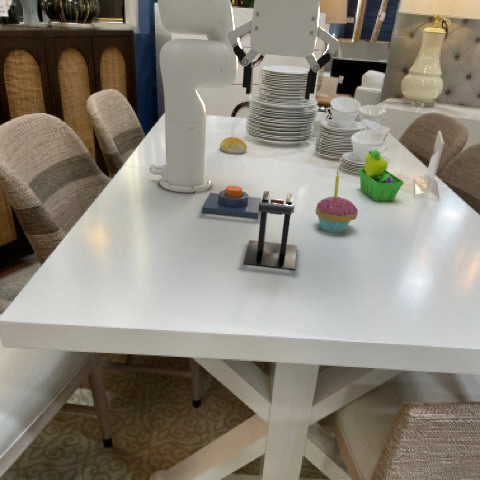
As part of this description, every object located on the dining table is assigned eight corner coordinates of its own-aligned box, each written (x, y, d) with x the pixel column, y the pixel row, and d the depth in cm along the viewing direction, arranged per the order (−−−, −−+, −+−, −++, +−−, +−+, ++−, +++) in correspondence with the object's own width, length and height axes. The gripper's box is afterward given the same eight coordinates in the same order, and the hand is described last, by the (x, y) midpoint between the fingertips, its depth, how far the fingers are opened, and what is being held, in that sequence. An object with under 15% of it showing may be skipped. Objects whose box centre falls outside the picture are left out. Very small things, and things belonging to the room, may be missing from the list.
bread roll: (241, 147, 155) (241, 134, 153) (249, 154, 148) (250, 140, 146) (216, 147, 153) (217, 134, 151) (223, 154, 146) (224, 140, 144)
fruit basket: (400, 202, 118) (412, 156, 112) (368, 202, 116) (378, 156, 110) (380, 187, 127) (390, 144, 121) (349, 188, 126) (358, 144, 119)
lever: (290, 218, 70) (293, 202, 70) (257, 215, 71) (259, 198, 70) (290, 215, 82) (292, 201, 81) (261, 212, 82) (263, 197, 82)
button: (224, 197, 102) (224, 189, 101) (226, 192, 105) (227, 184, 104) (240, 199, 101) (241, 191, 100) (242, 194, 104) (243, 186, 103)
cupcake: (305, 225, 101) (313, 169, 94) (338, 221, 104) (348, 167, 98) (326, 241, 95) (337, 182, 88) (361, 237, 98) (374, 179, 91)
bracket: (294, 275, 82) (304, 209, 75) (243, 269, 82) (248, 203, 76) (295, 251, 90) (304, 190, 83) (249, 245, 90) (254, 184, 84)
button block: (201, 216, 101) (202, 198, 99) (209, 201, 110) (210, 184, 107) (257, 223, 100) (258, 204, 98) (261, 207, 109) (262, 190, 107)
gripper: (349, -28, 71) (329, 97, 80) (235, -36, 72) (228, 88, 81) (353, -32, 64) (331, 104, 74) (228, -41, 66) (222, 94, 75)
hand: (277, 95), depth 78 cm, fingers open, 9 cm apart
